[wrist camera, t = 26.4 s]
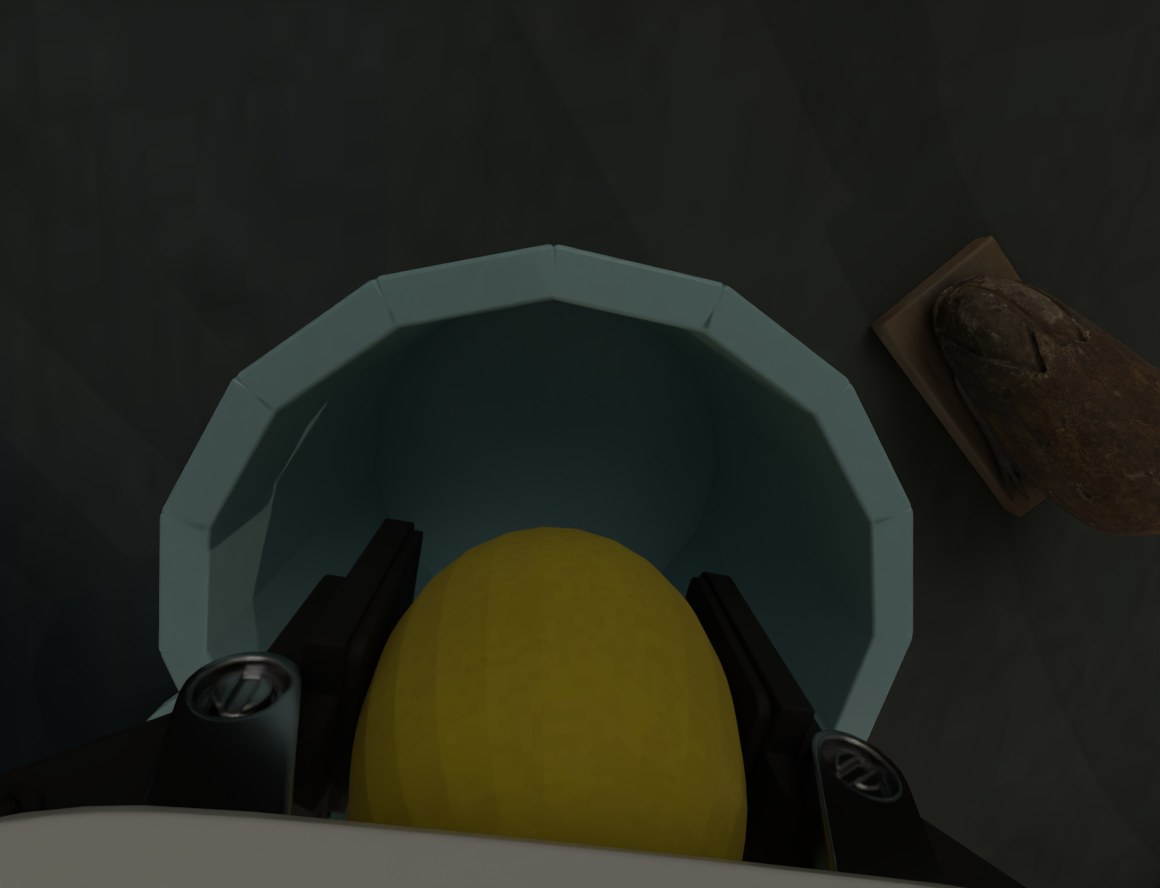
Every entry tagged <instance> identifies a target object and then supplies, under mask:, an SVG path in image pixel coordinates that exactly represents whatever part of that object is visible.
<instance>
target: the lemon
mask: <svg viewBox="0 0 1160 888" xmlns="http://www.w3.org/2000/svg"><path fill="white" fill-rule="evenodd" d="M348 821H355V822H365V823H376V824H386V825H396V826H406V827H416V828H427V829H437V830H447V831H457V832H467V833H478V834H488V835H498V836H508V837H518V838H528V839H537V840H547V841H557V842H566V843H576V844H586V845H595V846H605V847H615V848H624V849H633V850H643V851H652V852H662V853H671V854H681V855H690V856H699V857H709V858H718V859H727V860H736V861H742V858H743V851H744V845H745V838H746V822H747V794H746V779H745V771H744V763H743V756H742V750H741V744H740V739H739V733H738V727H737V721H736V716H735V710H734V705H733V700H732V696H731V693H730V689H729V685H728V682H727V678H726V676H725V673H724V671H723V668H722V665H721V663H720V660H719V659H718V657H717V655H716V653H715V651H714V649H713V647H712V645H711V643H710V641H709V639H708V637H707V635H706V633H705V631H704V629H703V627H702V626H701V624H700V622H699V620H698V618H697V616H696V614H695V612H694V611H693V609H692V608H691V606H690V605H689V603H688V602H687V601H686V599H685V598H684V597H683V596H682V595H681V594H680V593H679V591H678V590H677V589H676V588H675V587H674V586H673V585H672V584H671V583H670V582H669V581H668V580H667V579H666V578H665V577H664V576H663V575H662V574H661V573H660V572H659V571H658V570H657V569H656V568H655V567H654V566H653V565H652V564H651V563H650V562H649V561H647V560H646V559H645V558H643V557H641V556H640V555H638V554H636V553H635V552H633V551H631V550H630V549H628V548H626V547H625V546H623V545H621V544H620V543H618V542H617V541H615V540H612V539H610V538H607V537H603V536H600V535H597V534H593V533H590V532H587V531H583V530H580V529H575V528H558V527H538V528H532V529H526V530H520V531H514V532H508V533H506V534H503V535H501V536H499V537H496V538H494V539H492V540H489V541H487V542H485V543H482V544H480V545H478V546H475V547H473V548H471V549H469V550H468V551H466V552H465V553H464V554H463V555H461V556H460V557H459V558H457V559H456V560H455V561H453V562H452V563H451V564H449V565H448V566H447V567H446V568H444V569H443V570H442V571H440V572H439V573H438V574H437V575H436V576H435V577H433V578H432V579H431V581H430V582H429V583H428V584H427V585H426V587H425V588H424V589H423V590H422V592H421V593H420V594H419V595H418V597H417V598H416V599H415V601H414V602H413V603H412V604H411V606H410V607H409V608H408V610H407V611H406V612H405V613H404V615H403V616H402V617H401V619H400V620H399V621H398V623H397V625H396V626H395V628H394V629H393V631H392V632H391V634H390V636H389V638H388V640H387V643H386V645H385V647H384V649H383V651H382V654H381V656H380V659H379V661H378V664H377V667H376V669H375V672H374V674H373V677H372V679H371V682H370V685H369V688H368V690H367V693H366V696H365V698H364V701H363V704H362V708H361V711H360V715H359V719H358V722H357V726H356V732H355V738H354V743H353V749H352V758H351V767H350V779H349V800H348Z"/></svg>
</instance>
